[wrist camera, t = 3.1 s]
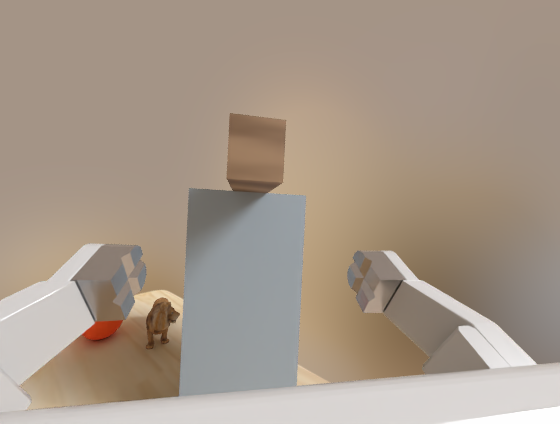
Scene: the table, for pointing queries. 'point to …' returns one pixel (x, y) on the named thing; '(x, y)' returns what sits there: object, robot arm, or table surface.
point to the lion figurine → (160, 320)
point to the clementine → (102, 329)
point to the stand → (241, 291)
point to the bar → (255, 153)
